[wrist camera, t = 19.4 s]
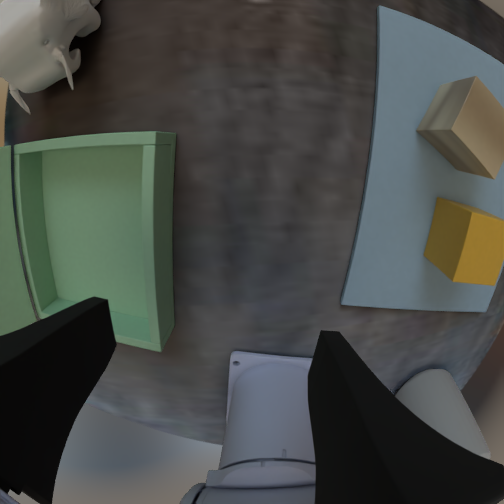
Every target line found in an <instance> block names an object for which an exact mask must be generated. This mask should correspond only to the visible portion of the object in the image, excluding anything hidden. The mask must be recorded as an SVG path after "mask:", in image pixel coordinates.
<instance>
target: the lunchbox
mask: <svg viewBox="0 0 504 504" xmlns="http://www.w3.org/2000/svg"><path fill="white" fill-rule="evenodd" d="M175 148H176V133H169V132H157V131H146V132H119V133H103V134H91V135H80V136H70V137H62V138H54V139H47V140H40V141H34V142H28V143H22V144H17V145H14V185H15V200H16V211H17V220H18V228H19V235H20V241H21V248H22V253H23V259H24V264H25V268H26V273H27V278H28V282H29V286H30V290H31V294H32V298H33V301H34V305H35V308H36V312H37V315H38V317H39V318H42V319H44V318H46V317H48V316H50V315H53V314H55V313H57V312H59V311H61V310H63V309H65V308H67V307H70V306H72V305H74V304H76V303H78V302H81V301H83V300H85V299H88V298H91V297H94V296H95V297H99V298H104V299H108V303H109V309H110V314H111V320H112V325H113V330H114V335H115V339H116V342H120V343H123V344H127V345H131V346H136V347H140V348H144V349H148V350H153V351H158V352H162V350H163V348H164V346H165V344H166V342H167V340H168V338H169V336H170V334H171V332H172V330H173V328H174V326H175V318H174V297H173V258H172V225H173V185H174V164H175Z"/></svg>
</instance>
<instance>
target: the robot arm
mask: <svg viewBox="0 0 504 504" xmlns="http://www.w3.org/2000/svg"><path fill="white" fill-rule="evenodd" d="M116 345H117V344H116V339H115V335H114V330H113V325H112V320H111V314H110V309H109V303H108V299H104V298H99V297H95V296H94V297H91V298H88V299H85V300H83V301H81V302H78V303H76V304H74V305H72V306H70V307H67V308H65V309H63V310H61V311H59V312H57V313H55V314H53V315H50V316H48V317H46V318H44V319H42V320H39V321H37V322H35V323H33V324H30V325H28V326H26V327H23V328H21V329H19V330H16V331H13V332H11V333H8V334H5V335H2V336H0V504H20V503H19V502H17V501H16V500H14V499H13V498H12V497H11V496H9V495H8V492H9V490H10V489H11V490H12V491H13V492H15V493H16V494H18V495H20V493H21V492H23V493H25V494H26V495H28V496H29V497H31V498H32V499H34V500H35V501H37V502H38V503H40V504H52V498H53V491H54V485H55V479H56V475H57V471H58V467H59V463H60V459H61V456H62V453H63V450H64V447H65V444H66V441H67V438H68V436H69V433H70V431H71V429H72V426H73V424H74V421H75V419H76V417H77V415H78V413H79V411H80V410H81V408H82V406H83V404H84V403H85V401H86V400H87V398H88V397H89V395H90V393H91V392H92V390H93V388H94V387H95V385H96V384H97V382H98V380H99V379H100V377H101V376H102V374H103V372H104V371H105V369H106V367H107V365H108V363H109V361H110V359H111V357H112V354H113V352H114V350H115V347H116ZM234 361H238V362H239V363H236V362H234ZM226 422H227V425H226V430H225V436H224V442H223V447H222V453H221V459H220V464H219V469H218V470H209V471H208V475H207V480H206V483H198V484H196V485H194V486H193V487H192V488H191V489H190V490H189V491H188V492H187V493H186V494H185V495H184V497H183V498H182V500H181V501H180V504H497V503H498V502H500V501H501V500H503V499H504V466H503V465H502V464H499V463H497V462H494V461H492V460H489V459H487V458H484V457H482V456H479V455H477V454H475V453H473V452H471V451H469V450H467V449H465V448H463V447H462V446H460V445H458V444H456V443H454V442H453V441H451V440H450V439H448V438H446V437H445V436H443V435H442V434H440V433H439V432H437V431H436V430H435V429H433V428H432V427H430V426H429V425H428V424H426V423H425V422H424V421H422V420H421V419H420V418H419V417H417V416H416V415H415V414H414V413H413V412H412V411H410V410H409V409H408V408H407V407H406V406H405V405H403V404H402V403H401V402H400V401H399V400H398V399H397V398H396V397H395V396H394V395H393V394H392V393H391V392H390V391H389V390H388V389H387V388H386V387H385V386H384V385H383V384H382V382H381V381H380V380H379V379H378V378H377V377H376V376H375V375H374V374H373V372H372V371H371V370H370V369H369V368H368V367H367V365H366V364H365V363H364V362H363V361H362V359H361V358H360V357H359V356H358V354H357V353H356V352H355V351H354V349H353V348H352V347H351V346H350V344H349V343H348V342H347V341H346V339H345V338H344V337H343V336H342V335H341V333H340V332H337V331H322V330H321V332H320V335H319V339H318V342H317V346H316V349H315V352H314V356H313V358H301V357H289V356H278V355H267V354H258V353H250V352H242V351H234V352H232V353H231V356H230V368H229V383H228V398H227V414H226Z"/></svg>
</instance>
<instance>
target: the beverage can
mask: <svg viewBox="0 0 504 504" xmlns="http://www.w3.org/2000/svg"><path fill="white" fill-rule="evenodd" d="M395 397H396V398H397V399H398V400H399V401H400V402H401V403H402V404H403V405H405V406H406V407H407V408H408V409H409V410H410V411H412V412H413V413H414V414H415V415H416V416H417V417H419V418H420V419H421V420H422V421H424V422H425V423H426V424H428V425H429V426H430V427H432V428H433V429H435V430H436V431H437V432H439V433H440V434H442V435H443V436H445V437H446V438H448V439H450V440H451V441H453V442H454V443H456V444H458V445H460V446H462V447H463V448H465V449H467V450H469V451H471V452H473V453H475V454H477V455H479V456H482V457H484V458H487V459H489V460H490V456H491V453H490V451H489V449H488V446H487V444H486V442H485V440H484V437H483V435H482V433H481V431H480V429H479V427H478V425H477V423H476V421H475V419H474V417H473V415H472V413H471V411H470V409H469V407H468V405H467V403H466V402H465V400H464V398H463V396H462V394H461V392H460V390H459V389H458V387H457V385H456V383H455V381H454V380H453V378H452V376H451V374H450V373H449V372H448V371H446V370H443V369H429V370H425V371H422V372H420V373H418V374H416V375H415V376H413V377H412V378H410V379H409V380H408V381H407V382H406V383H405V384H404V385H403V386H402V387H401V389H400V390H399V391H398V392H397V394H396V395H395Z"/></svg>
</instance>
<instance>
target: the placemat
mask: <svg viewBox="0 0 504 504" xmlns="http://www.w3.org/2000/svg"><path fill="white" fill-rule="evenodd" d="M473 76H477V77H478V78H479V79H480V80H481V81H482V83H483V84H484V85H485V86H486V87H487V88H488V90H489V91H490V92H491V93H492V94H493V95H494V97H495V98H496V99H497V100H498V102H499V103H500V104H501V105H502V107H503V108H504V64H502V63H501V62H499V61H498V60H496V59H494V58H493V57H491V56H490V55H488V54H486V53H485V52H483V51H482V50H480V49H478V48H476V47H475V46H473V45H471V44H469V43H468V42H466V41H464V40H462V39H460V38H458V37H456V36H454V35H452V34H450V33H448V32H446V31H444V30H442V29H440V28H438V27H435V26H433V25H431V24H429V23H426V22H424V21H422V20H419V19H417V18H414V17H412V16H409V15H406V14H403V13H401V12H398V11H395V10H392V9H389V8H386V7H383V6H378V8H377V74H376V92H375V105H374V117H373V127H372V136H371V145H370V153H369V160H368V168H367V174H366V181H365V187H364V193H363V199H362V205H361V210H360V216H359V221H358V226H357V231H356V236H355V241H354V246H353V250H352V255H351V259H350V264H349V268H348V272H347V276H346V280H345V284H344V288H343V292H342V296H341V300H340V302H341V305H350V306H363V307H377V308H393V309H410V310H431V311H458V312H486V310H487V308H488V305H489V303H490V301H491V298H492V296H493V293H494V291H495V288H496V285H497V283H498V280H499V277H500V274H501V271H502V268H503V265H504V260H503V264H502V267H501V270H500V273H499V275H498V278H497V281H496V284H495V286H490V285H480V284H469V283H459V282H452V281H451V280H450V279H449V278H448V277H447V276H446V275H445V274H444V273H443V272H441V271H440V270H439V269H438V268H437V267H436V266H435V265H434V264H433V263H431V262H430V261H429V260H428V259H427V258H426V257H425V256H424V251H425V248H426V244H427V240H428V236H429V232H430V228H431V224H432V219H433V215H434V210H435V206H436V201H437V197H440V198H444V199H448V200H451V201H455V202H459V203H462V204H466V205H469V206H473V207H476V208H479V209H481V210H484V211H486V212H488V213H490V214H493V215H495V216H497V217H499V218H501V219H503V220H504V161H503V163H502V165H501V168H500V170H499V172H498V174H497V176H496V178H495V180H494V179H490V178H486V177H482V176H479V175H475V174H471V173H466V172H462V171H458V170H456V169H455V168H454V167H453V165H452V164H451V163H450V162H449V161H448V160H447V159H446V158H445V157H444V156H443V155H442V154H441V153H440V152H439V151H437V150H436V149H435V148H434V147H433V146H432V145H431V144H430V143H429V142H428V141H427V140H426V139H425V138H424V137H422V136H421V135H420V134H419V133H418V132H417V131H416V130H417V128H418V126H419V124H420V122H421V121H422V119H423V117H424V115H425V113H426V111H427V110H428V108H429V106H430V104H431V102H432V100H433V98H434V96H435V95H436V93H437V91H438V89H439V87H440V85H442V84H446V83H449V82H453V81H457V80H461V79H465V78H469V77H473Z"/></svg>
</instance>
